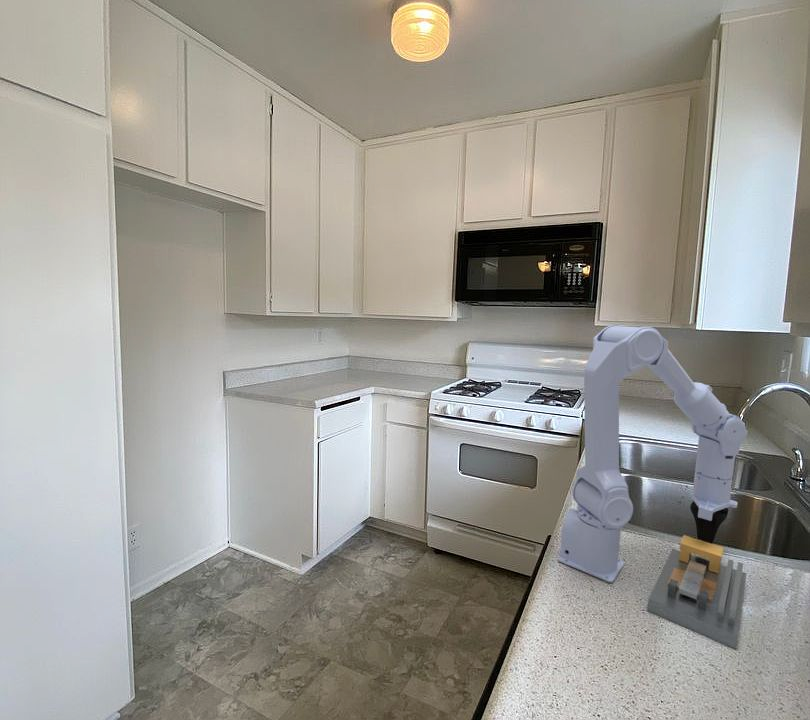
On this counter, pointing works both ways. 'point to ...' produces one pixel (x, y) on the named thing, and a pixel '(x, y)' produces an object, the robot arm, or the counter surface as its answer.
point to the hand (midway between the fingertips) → (705, 542)
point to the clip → (701, 552)
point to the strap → (692, 579)
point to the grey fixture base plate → (701, 599)
